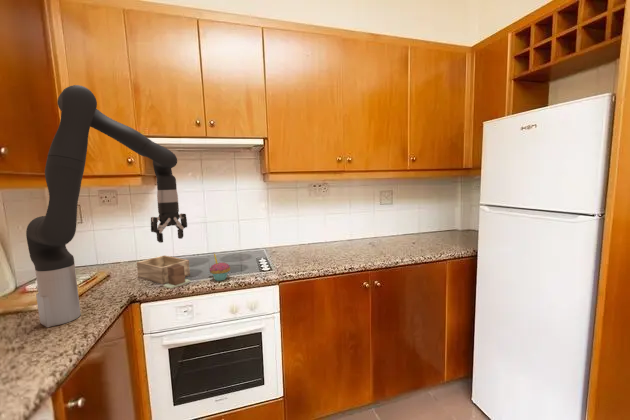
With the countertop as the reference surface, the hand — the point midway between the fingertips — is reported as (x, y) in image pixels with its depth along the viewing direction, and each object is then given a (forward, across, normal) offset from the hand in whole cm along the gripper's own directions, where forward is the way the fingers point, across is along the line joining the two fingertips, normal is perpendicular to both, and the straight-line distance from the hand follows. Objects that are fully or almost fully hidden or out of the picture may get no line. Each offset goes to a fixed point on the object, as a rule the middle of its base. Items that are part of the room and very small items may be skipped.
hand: (170, 240), depth 120 cm
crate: (+19, -4, -14) cm, 24 cm away
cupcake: (+19, -14, +12) cm, 27 cm away
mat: (+19, -1, +1) cm, 19 cm away
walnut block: (+18, -1, +1) cm, 18 cm away
